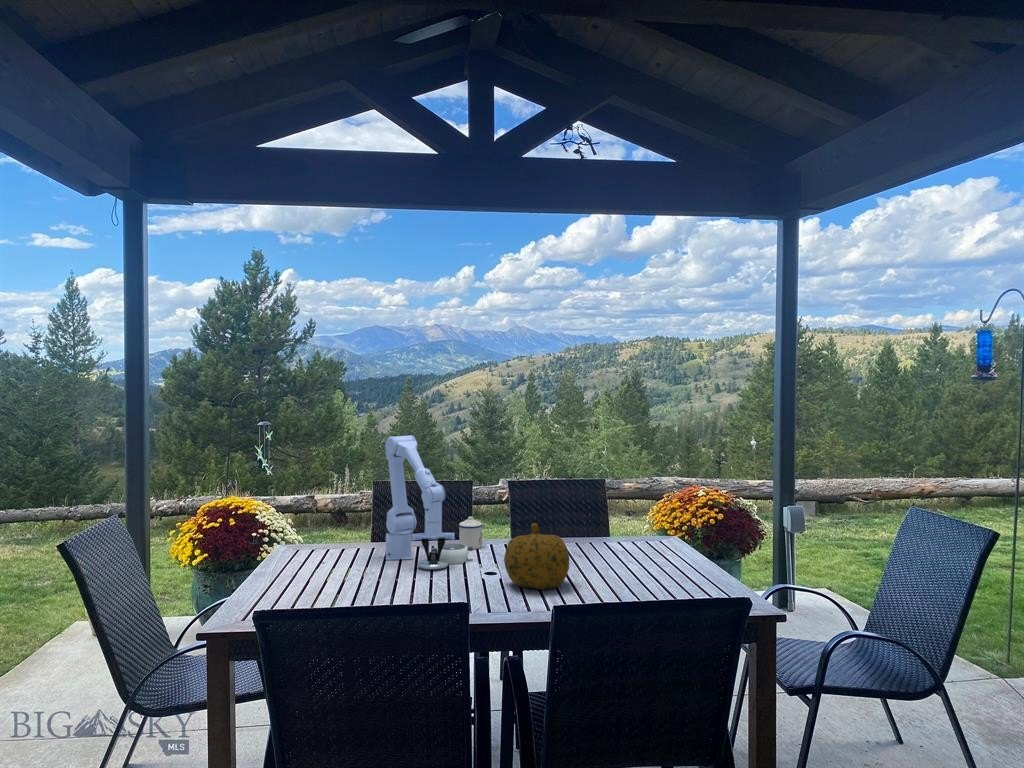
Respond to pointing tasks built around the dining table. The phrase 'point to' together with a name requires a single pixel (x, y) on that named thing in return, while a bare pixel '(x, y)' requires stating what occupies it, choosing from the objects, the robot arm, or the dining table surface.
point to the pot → (454, 553)
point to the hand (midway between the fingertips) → (433, 560)
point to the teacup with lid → (470, 533)
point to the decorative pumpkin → (537, 560)
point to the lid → (433, 562)
